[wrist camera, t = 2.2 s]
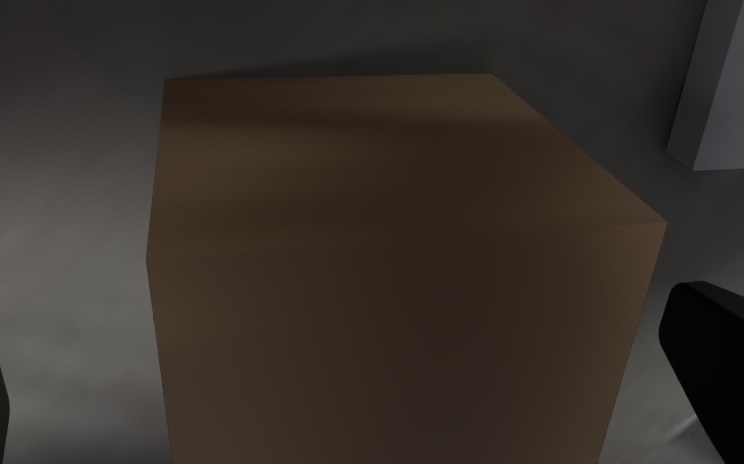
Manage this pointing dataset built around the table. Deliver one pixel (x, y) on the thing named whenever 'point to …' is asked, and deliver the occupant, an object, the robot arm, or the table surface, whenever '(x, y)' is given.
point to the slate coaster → (713, 94)
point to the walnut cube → (387, 274)
